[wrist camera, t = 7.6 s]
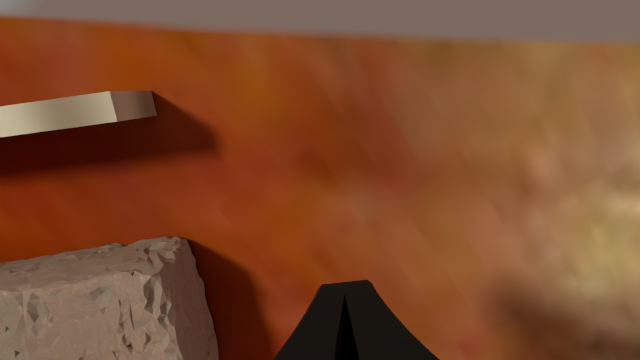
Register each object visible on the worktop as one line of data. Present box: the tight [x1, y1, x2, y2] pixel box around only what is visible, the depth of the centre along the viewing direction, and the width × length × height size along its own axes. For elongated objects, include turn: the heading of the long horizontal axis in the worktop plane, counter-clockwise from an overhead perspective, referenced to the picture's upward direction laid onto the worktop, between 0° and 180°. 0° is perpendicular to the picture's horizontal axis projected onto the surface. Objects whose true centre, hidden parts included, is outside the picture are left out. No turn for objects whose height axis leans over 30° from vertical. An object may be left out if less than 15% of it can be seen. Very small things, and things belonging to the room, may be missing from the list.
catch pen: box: [0, 91, 157, 137], centre depth 19 cm, size 17×22×4 cm
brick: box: [0, 237, 219, 360], centre depth 19 cm, size 17×8×5 cm, turn 99°
